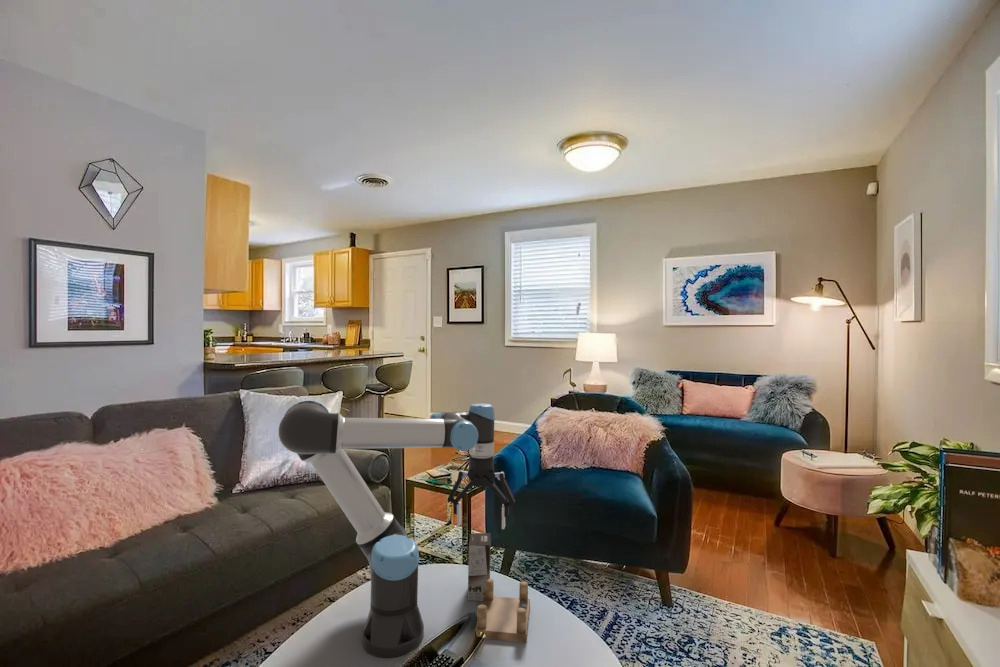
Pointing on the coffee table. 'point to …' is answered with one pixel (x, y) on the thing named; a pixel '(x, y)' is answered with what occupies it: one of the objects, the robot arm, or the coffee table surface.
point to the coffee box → (478, 565)
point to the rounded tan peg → (523, 592)
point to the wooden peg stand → (502, 616)
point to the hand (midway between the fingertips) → (481, 526)
